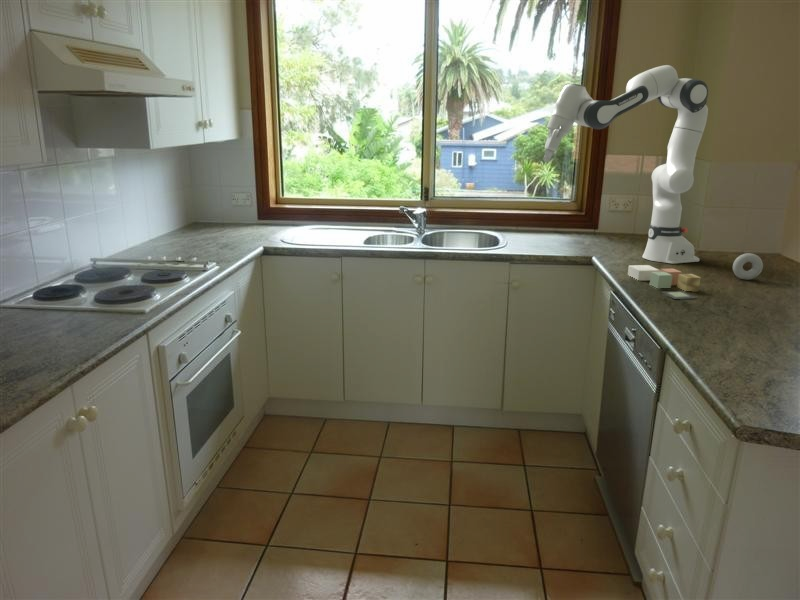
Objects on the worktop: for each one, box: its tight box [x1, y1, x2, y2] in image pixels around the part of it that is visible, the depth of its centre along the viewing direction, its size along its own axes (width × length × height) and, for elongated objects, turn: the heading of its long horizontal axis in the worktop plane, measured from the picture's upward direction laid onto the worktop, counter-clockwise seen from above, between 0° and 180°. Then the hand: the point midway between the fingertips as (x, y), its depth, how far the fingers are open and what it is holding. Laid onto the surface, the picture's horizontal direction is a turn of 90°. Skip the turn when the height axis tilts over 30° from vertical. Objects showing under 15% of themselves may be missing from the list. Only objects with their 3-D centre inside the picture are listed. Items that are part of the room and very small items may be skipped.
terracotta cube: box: [659, 268, 682, 286], centre depth 216 cm, size 5×5×5 cm
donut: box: [732, 252, 764, 281], centre depth 222 cm, size 10×4×10 cm, turn 77°
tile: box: [661, 290, 697, 300], centre depth 202 cm, size 8×8×1 cm
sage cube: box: [649, 272, 672, 289], centre depth 211 cm, size 5×5×5 cm
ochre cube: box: [676, 273, 702, 292], centre depth 209 cm, size 5×5×5 cm
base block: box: [627, 264, 661, 281], centre depth 224 cm, size 8×8×4 cm
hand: (545, 162), depth 232 cm, fingers open, 8 cm apart
